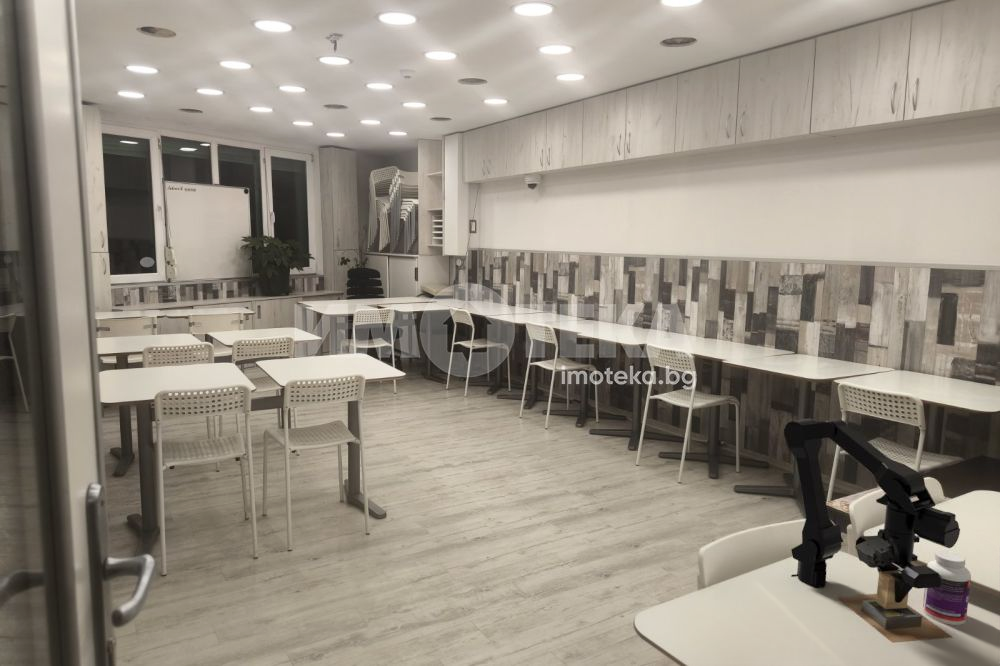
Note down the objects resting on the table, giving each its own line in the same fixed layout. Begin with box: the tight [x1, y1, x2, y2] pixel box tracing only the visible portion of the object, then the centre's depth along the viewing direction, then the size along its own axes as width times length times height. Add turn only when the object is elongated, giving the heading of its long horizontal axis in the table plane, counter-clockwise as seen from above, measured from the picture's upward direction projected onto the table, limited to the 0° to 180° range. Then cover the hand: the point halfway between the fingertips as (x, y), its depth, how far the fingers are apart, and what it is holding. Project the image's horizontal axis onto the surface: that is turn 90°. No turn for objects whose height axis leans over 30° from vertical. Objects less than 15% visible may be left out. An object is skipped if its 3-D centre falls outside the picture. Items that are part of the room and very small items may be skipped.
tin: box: [861, 600, 922, 630], centre depth 148 cm, size 7×8×2 cm
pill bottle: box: [922, 549, 972, 626], centre depth 150 cm, size 8×8×14 cm
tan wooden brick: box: [876, 569, 909, 609], centre depth 148 cm, size 3×5×7 cm, turn 99°
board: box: [836, 593, 953, 643], centre depth 150 cm, size 18×14×1 cm
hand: (892, 598), depth 148 cm, fingers closed on tan wooden brick, 3 cm apart
